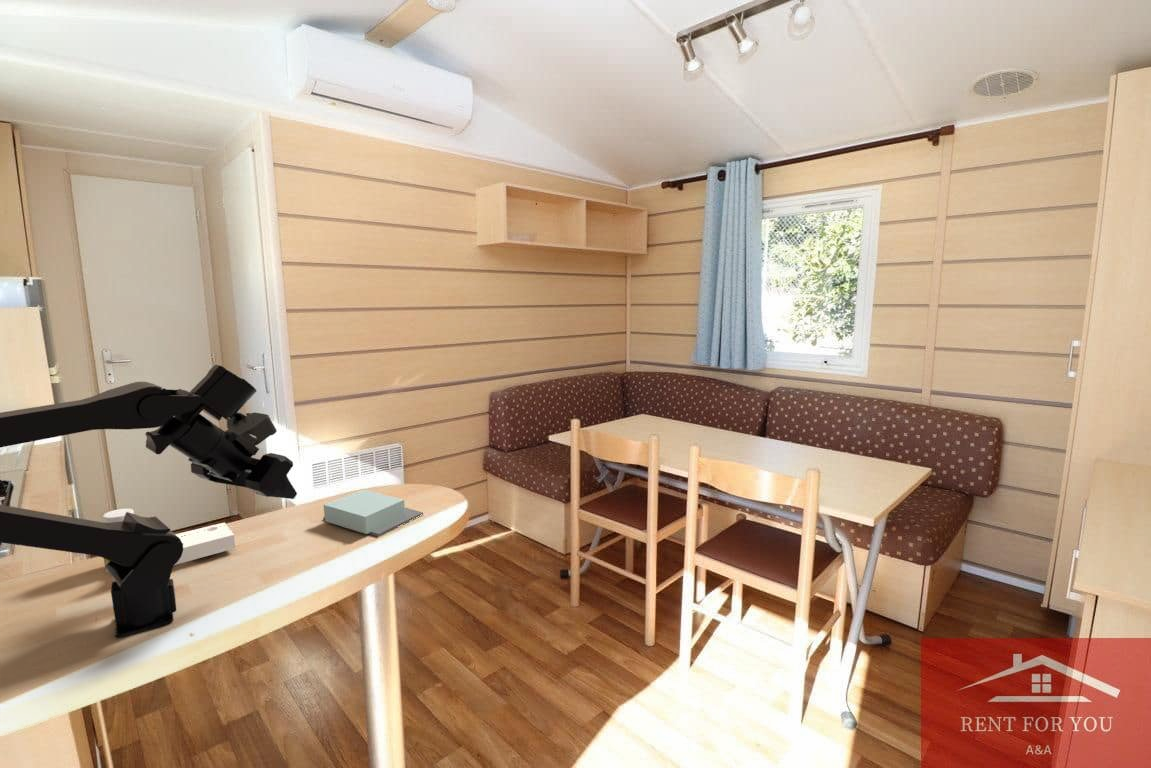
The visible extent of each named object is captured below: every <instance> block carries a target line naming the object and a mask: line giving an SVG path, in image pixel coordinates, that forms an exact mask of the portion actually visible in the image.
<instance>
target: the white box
mask: <svg viewBox="0 0 1151 768" xmlns="http://www.w3.org/2000/svg"><path fill="white" fill-rule="evenodd" d="M224 525H225V526H224ZM220 526H221V527H220ZM215 527H217V528H215ZM212 528H213V529H212ZM207 529H209V530H207ZM204 530H205V531H204ZM197 532H198V533H197ZM174 534H175V535H176V536H177V537H179V538H180V540H181V542H182V544H183V552H182V555H181V557H180V559H179V560H178V562H177V563H176V564H175V565H179V564H184V563H186V562H190V561H194V560H198V559H201V558H204V557H208V556H209V557H210V556H212V555H215V554H219V553H223V552H227V551H231V550H233V549H236V541H235V534H234V532H233V531H232V530H231V528H229V526H228V525H227V524H226V522H221V523H220V522H219V523H217V524H212V525H208V526H203V527H201V528H196V529H193V530H189V531H188V530H187V531H184V532H179V533H174ZM189 534H190V535H189ZM184 535H186V536H184ZM181 536H183V537H181ZM175 565H174V566H175Z"/></svg>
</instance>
